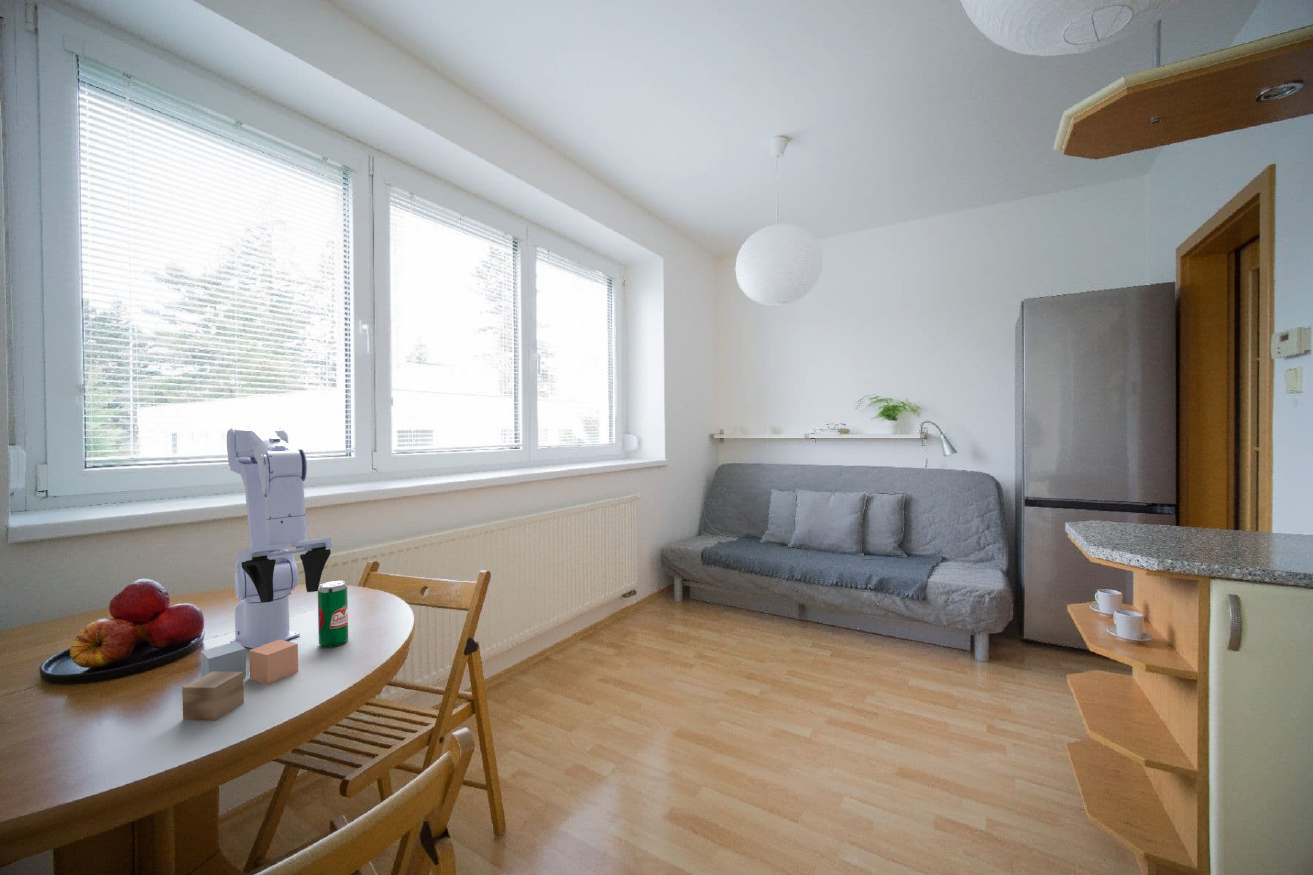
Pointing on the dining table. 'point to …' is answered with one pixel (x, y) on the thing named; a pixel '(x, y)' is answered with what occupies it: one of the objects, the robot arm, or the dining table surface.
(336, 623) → the soda can
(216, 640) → the dining table surface
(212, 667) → the slate blue block
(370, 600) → the dining table surface
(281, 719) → the dining table surface
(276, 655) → the terracotta block
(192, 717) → the walnut block
